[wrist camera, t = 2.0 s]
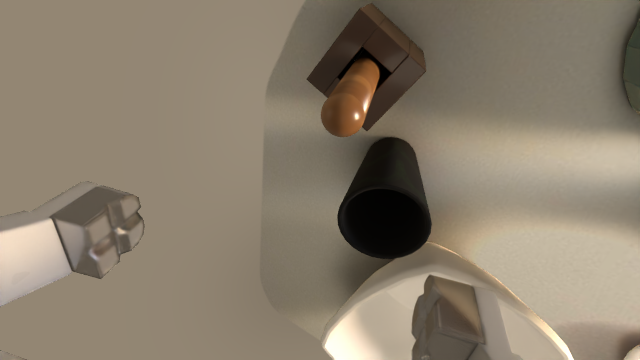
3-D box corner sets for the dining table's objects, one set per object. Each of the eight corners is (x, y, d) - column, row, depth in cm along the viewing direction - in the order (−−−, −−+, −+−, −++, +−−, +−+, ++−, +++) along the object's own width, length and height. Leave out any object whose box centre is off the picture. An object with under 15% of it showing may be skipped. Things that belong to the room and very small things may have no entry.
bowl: (319, 272, 49) (296, 343, 40) (428, 176, 37) (434, 244, 28) (432, 350, 52) (437, 434, 42) (566, 284, 40) (616, 379, 31)
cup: (345, 145, 38) (320, 203, 28) (408, 116, 35) (406, 170, 25) (375, 197, 40) (363, 268, 30) (437, 175, 37) (446, 246, 27)
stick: (356, 57, 33) (307, 123, 18) (372, 37, 32) (335, 89, 16) (374, 74, 33) (341, 152, 18) (391, 54, 32) (372, 121, 17)
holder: (327, 60, 34) (306, 79, 27) (371, 2, 30) (359, 8, 24) (375, 103, 35) (366, 131, 28) (423, 51, 31) (426, 70, 25)
